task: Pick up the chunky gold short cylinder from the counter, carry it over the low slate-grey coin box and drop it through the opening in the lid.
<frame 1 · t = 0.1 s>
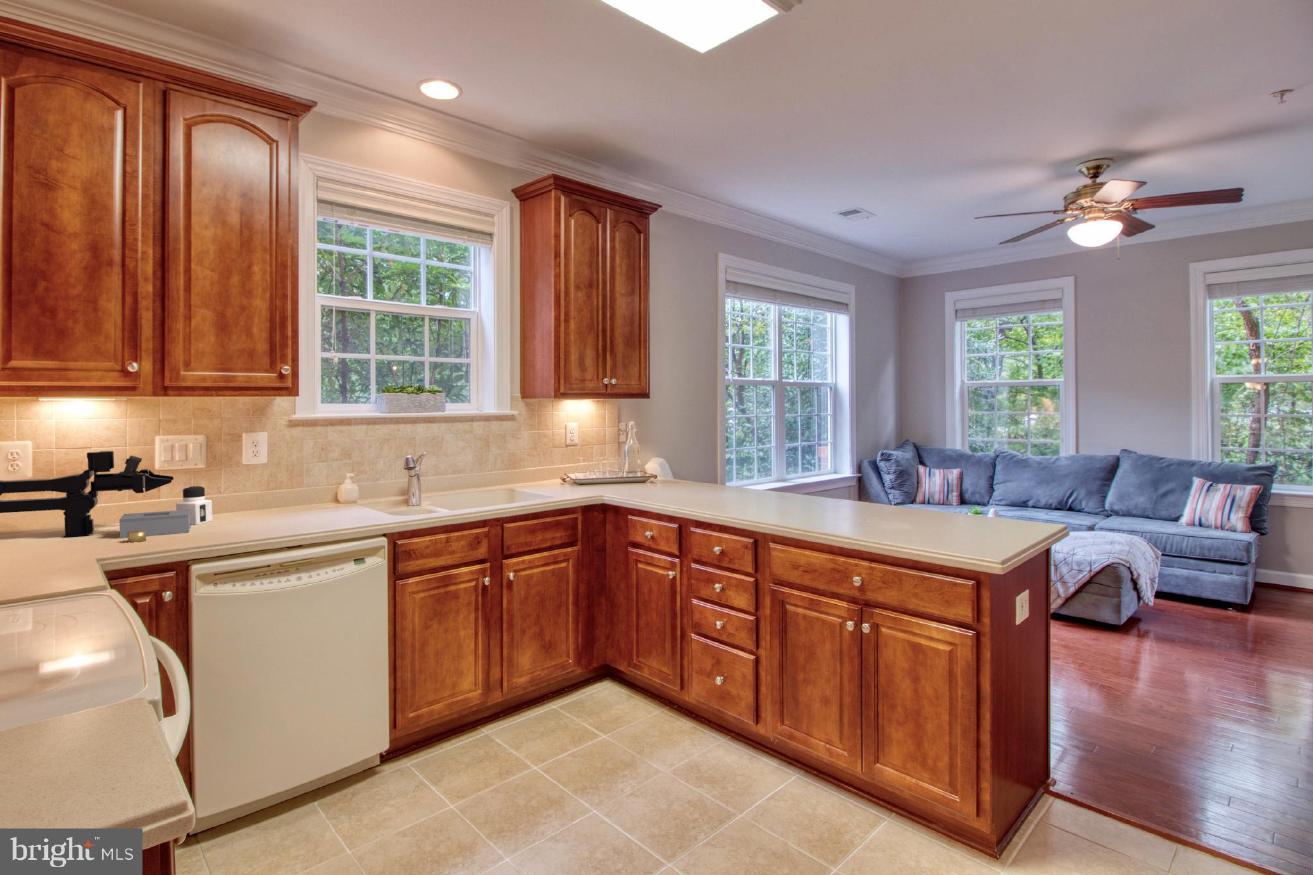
hand: (172, 479, 235), 17 cm above the countertop, tool horizontal, fingers open, 9 cm apart
gold short cylinder: (137, 541, 214), on the countertop
container: (194, 523, 245), on the countertop
coin box: (156, 532, 228), on the countertop
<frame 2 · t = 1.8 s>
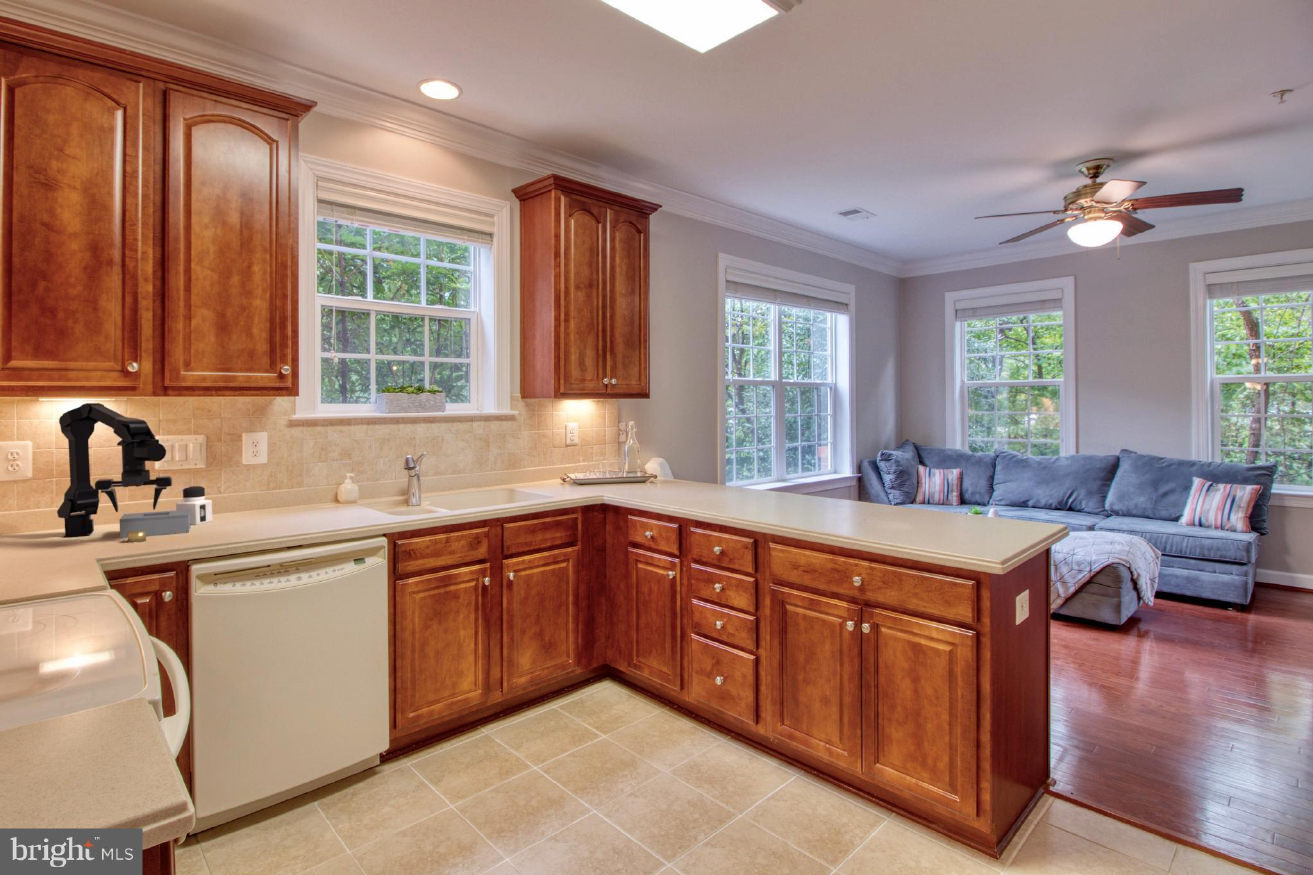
hand: (135, 510, 213), 10 cm above the countertop, tool pointing down, fingers open, 9 cm apart
nothing on the countertop moved.
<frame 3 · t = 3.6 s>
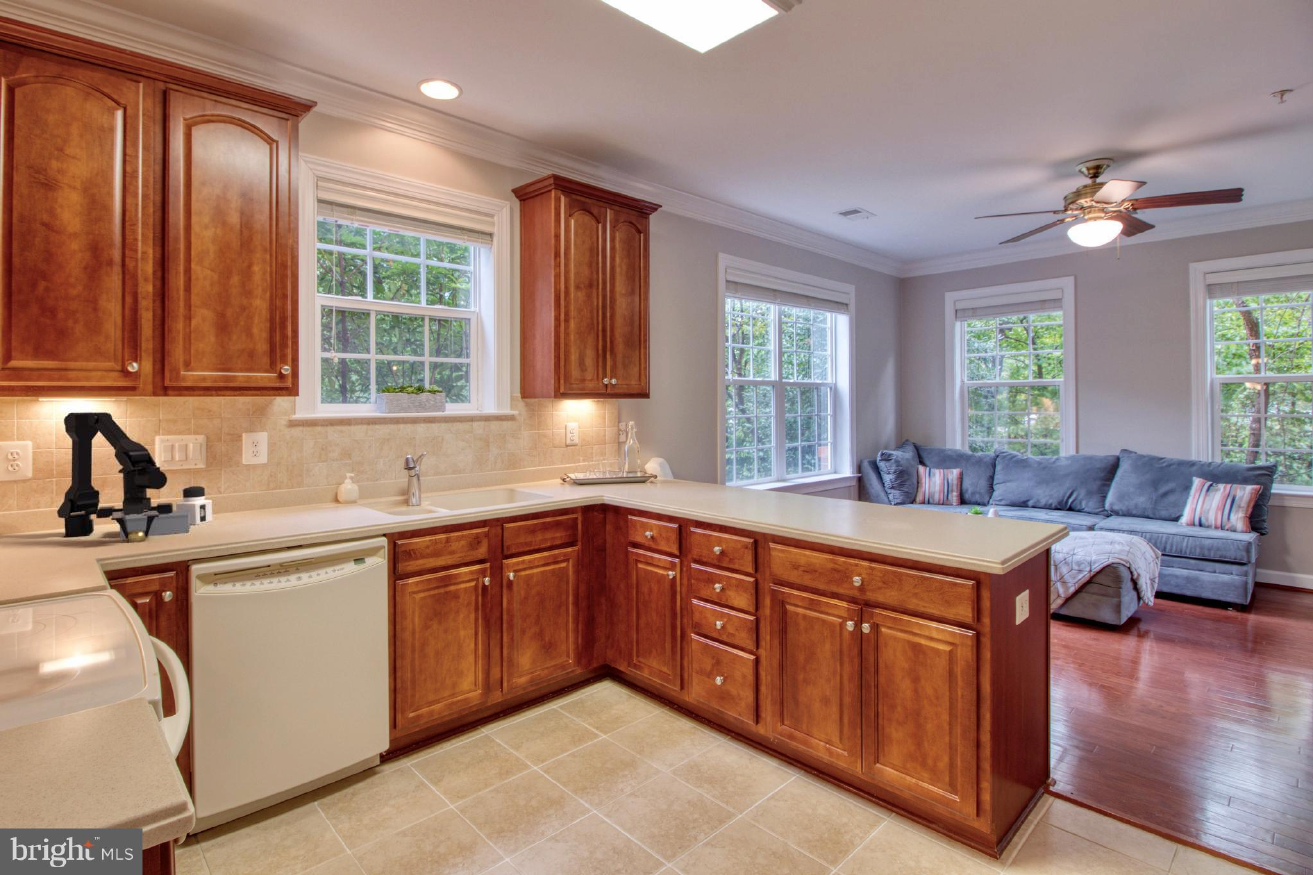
hand: (137, 537, 214), 1 cm above the countertop, tool pointing down, fingers closed on gold short cylinder, 4 cm apart
gold short cylinder: (137, 541, 214), on the countertop, touching gripper
everything else where it was.
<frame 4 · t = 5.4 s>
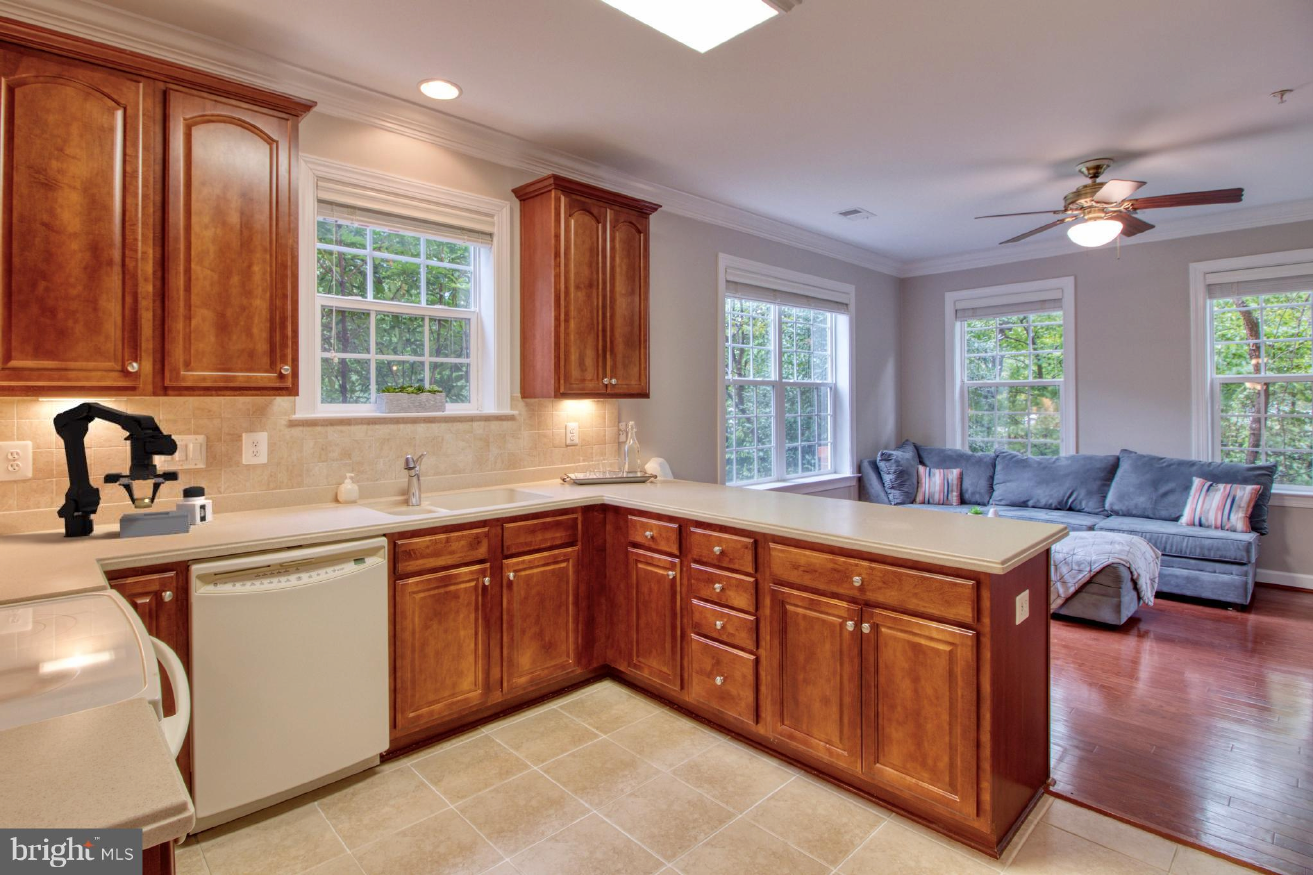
hand: (143, 504, 219), 11 cm above the countertop, tool pointing down, fingers closed on gold short cylinder, 4 cm apart
gold short cylinder: (143, 507, 219), point 10 cm above the countertop, touching gripper
everything else where it was.
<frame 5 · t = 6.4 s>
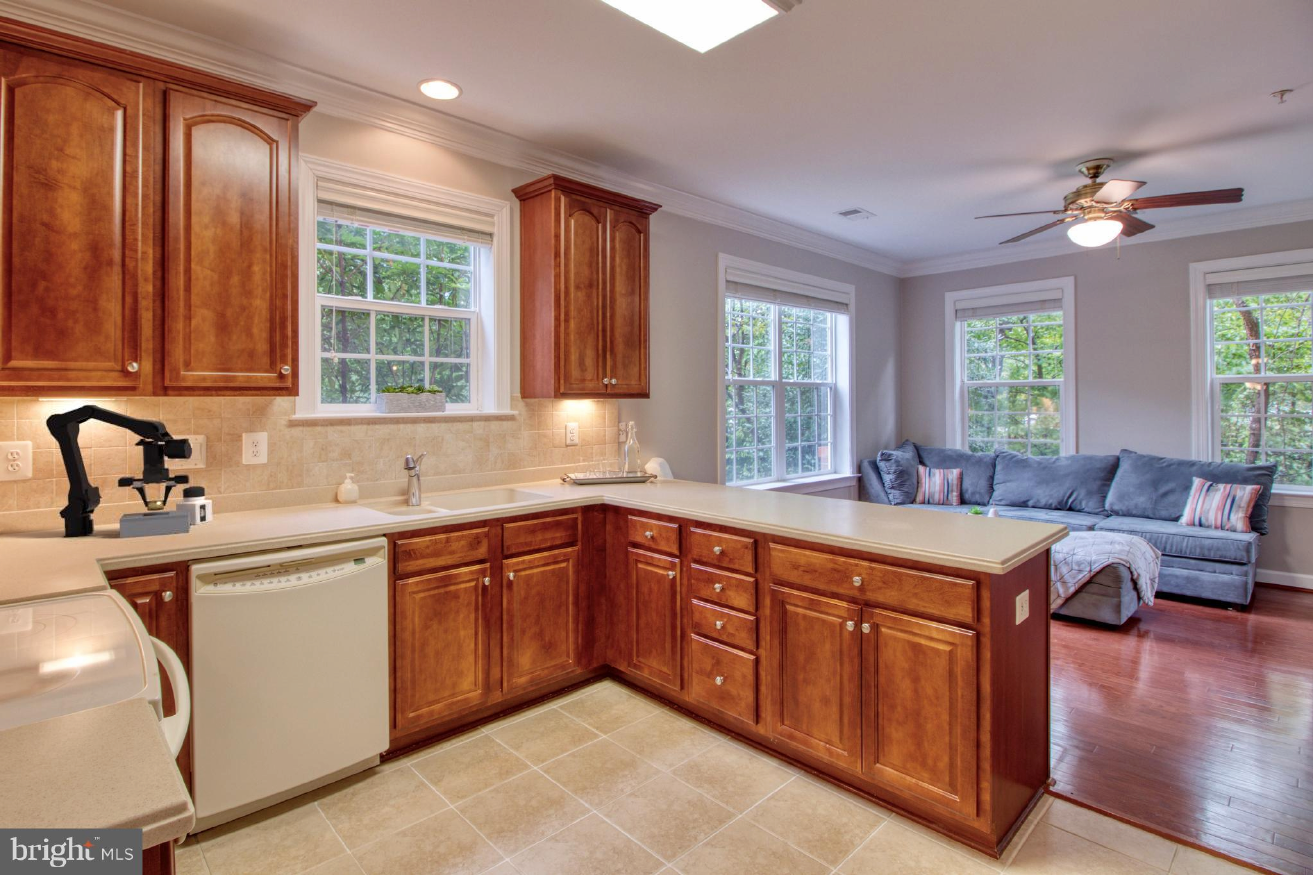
hand: (155, 506, 227), 9 cm above the countertop, tool pointing down, fingers closed on gold short cylinder, 4 cm apart
gold short cylinder: (155, 509, 227), point 8 cm above the countertop, touching gripper
everything else where it was.
when the fingers open (8 cm above the countertop, at t = 7.1 s): gold short cylinder drops 7 cm, resting on coin box.
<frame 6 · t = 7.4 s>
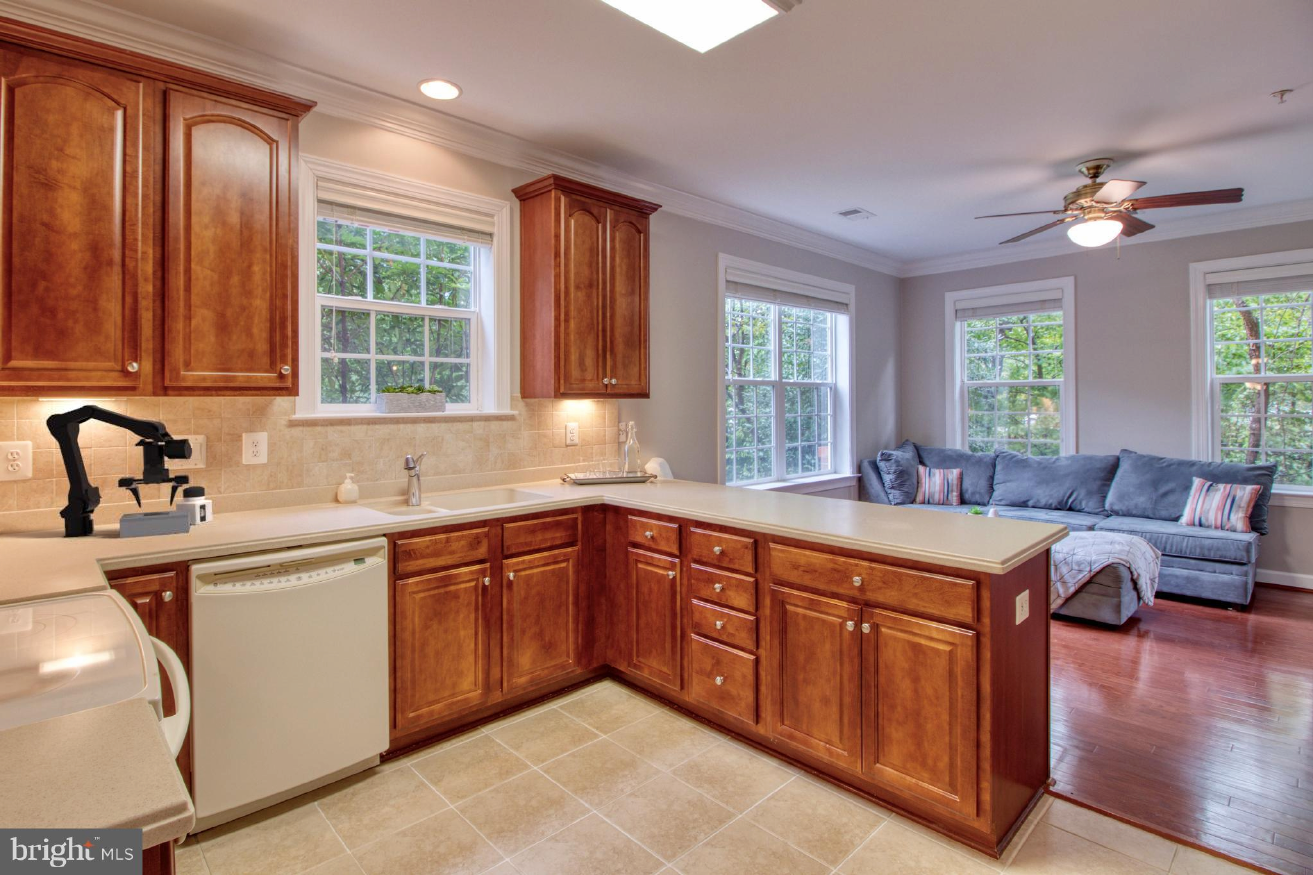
hand: (155, 506, 227), 8 cm above the countertop, tool pointing down, fingers open, 8 cm apart
gold short cylinder: (156, 530, 228), resting on coin box
everything else where it was.
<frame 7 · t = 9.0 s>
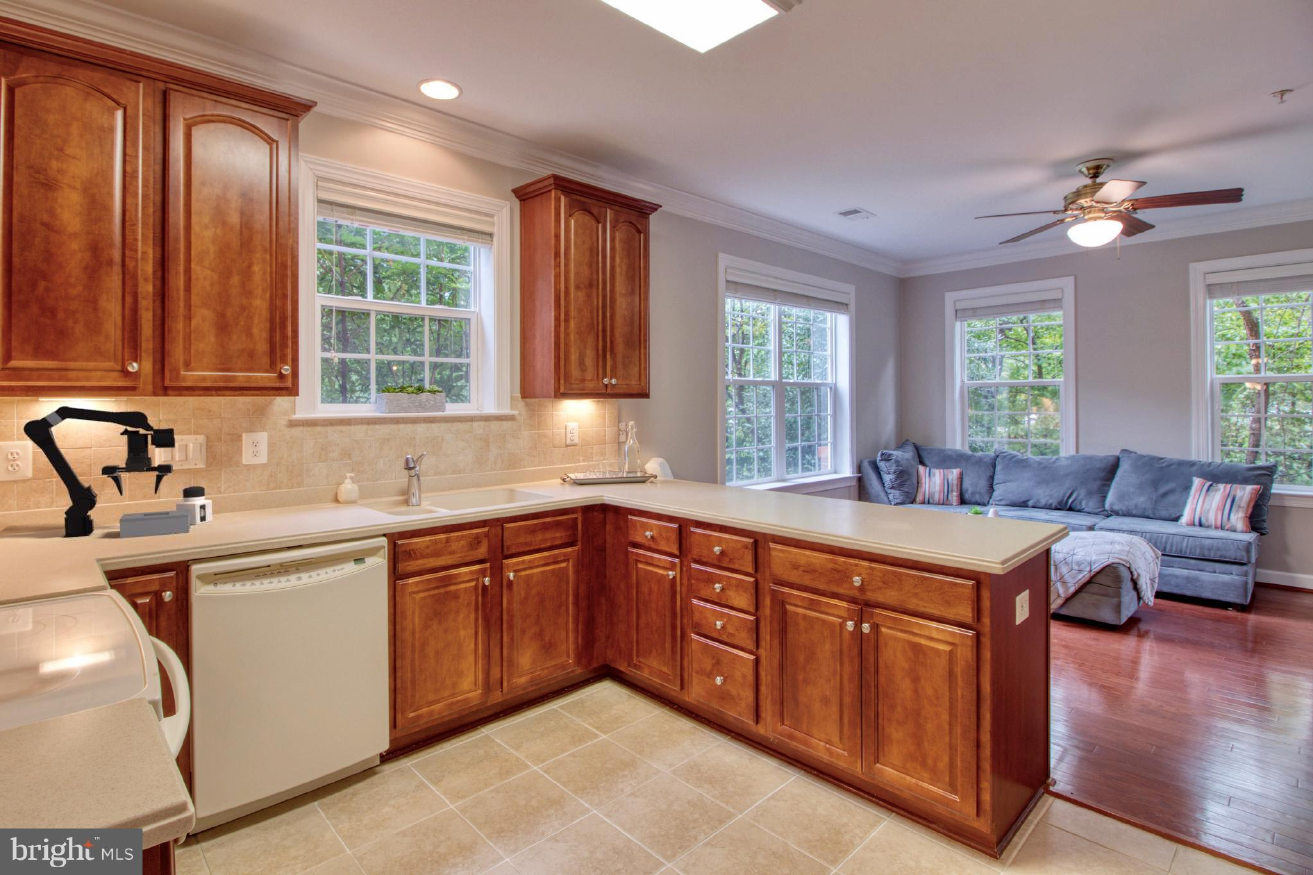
hand: (138, 494, 231), 12 cm above the countertop, tool pointing down, fingers open, 9 cm apart
nothing on the countertop moved.
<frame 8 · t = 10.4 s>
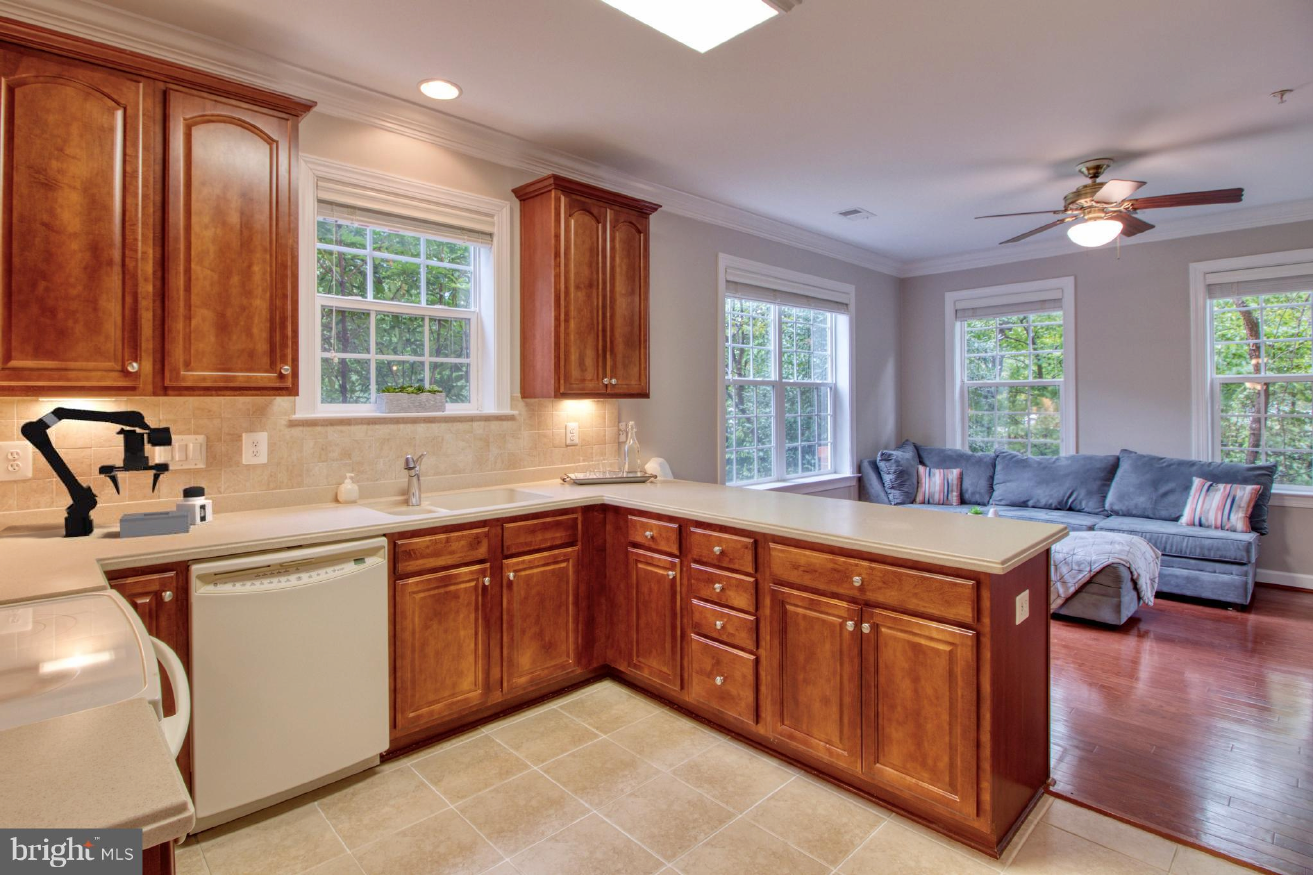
hand: (136, 493, 233), 12 cm above the countertop, tool pointing down, fingers open, 9 cm apart
nothing on the countertop moved.
at the end: gold short cylinder inside the target area on the coin box (0.1 cm from its centre), point 0.5 cm above the coin box's base; the gripper is holding nothing; container moved 0.2 cm from its start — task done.
